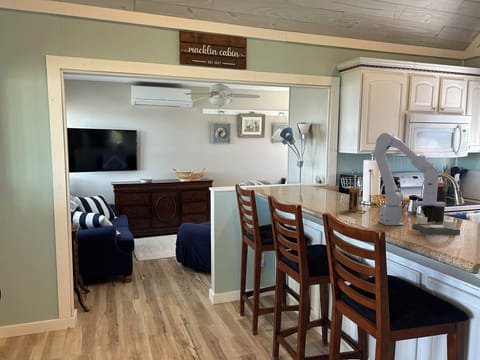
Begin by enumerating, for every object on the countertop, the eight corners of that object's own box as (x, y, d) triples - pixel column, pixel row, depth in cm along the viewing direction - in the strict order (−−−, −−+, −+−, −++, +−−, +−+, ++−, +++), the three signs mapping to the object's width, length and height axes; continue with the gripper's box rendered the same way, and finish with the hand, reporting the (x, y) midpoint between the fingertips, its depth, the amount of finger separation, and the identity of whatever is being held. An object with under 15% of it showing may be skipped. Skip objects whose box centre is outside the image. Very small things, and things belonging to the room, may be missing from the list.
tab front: (447, 228, 160) (448, 221, 159) (443, 226, 163) (443, 220, 162) (454, 228, 160) (454, 221, 160) (449, 226, 163) (450, 220, 163)
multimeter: (372, 214, 202) (374, 177, 200) (354, 213, 202) (355, 177, 200) (363, 209, 216) (365, 175, 214) (346, 208, 216) (348, 175, 214)
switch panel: (429, 234, 159) (429, 229, 159) (412, 227, 172) (413, 222, 171) (459, 234, 160) (460, 229, 160) (441, 227, 173) (441, 222, 173)
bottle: (445, 222, 183) (448, 183, 181) (430, 222, 184) (433, 182, 182) (440, 220, 189) (444, 181, 187) (426, 219, 191) (429, 180, 188)
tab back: (420, 223, 168) (421, 217, 168) (417, 222, 171) (417, 216, 171) (427, 223, 168) (427, 217, 168) (423, 222, 171) (423, 216, 171)
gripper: (419, 193, 164) (417, 223, 165) (450, 194, 165) (448, 223, 166) (411, 191, 171) (409, 220, 172) (441, 191, 172) (438, 220, 173)
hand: (427, 221), depth 170 cm, fingers closed
